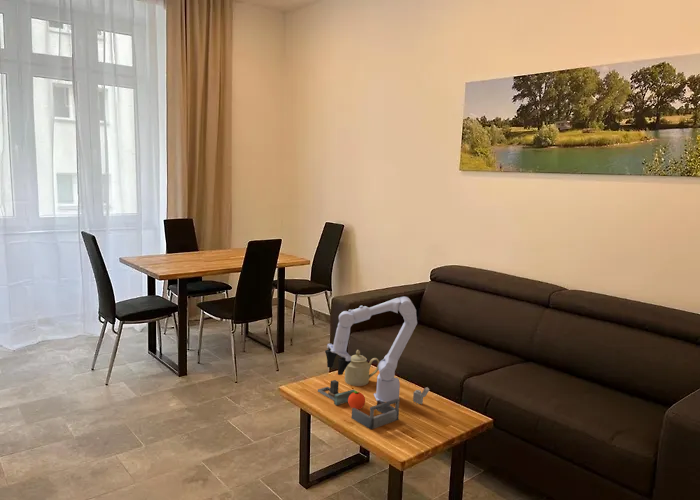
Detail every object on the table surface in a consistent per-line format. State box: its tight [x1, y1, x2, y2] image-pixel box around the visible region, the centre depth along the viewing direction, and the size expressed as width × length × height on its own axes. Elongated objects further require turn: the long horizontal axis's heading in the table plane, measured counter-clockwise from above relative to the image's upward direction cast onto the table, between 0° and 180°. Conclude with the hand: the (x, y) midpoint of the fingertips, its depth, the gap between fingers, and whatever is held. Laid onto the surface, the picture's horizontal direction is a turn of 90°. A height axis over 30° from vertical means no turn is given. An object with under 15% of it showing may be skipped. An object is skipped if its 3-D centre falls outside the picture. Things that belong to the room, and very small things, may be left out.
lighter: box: [412, 386, 430, 405], centre depth 226 cm, size 7×2×8 cm, turn 42°
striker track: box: [317, 386, 340, 401], centre depth 230 cm, size 13×5×1 cm, turn 40°
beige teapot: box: [344, 349, 380, 387], centre depth 247 cm, size 15×11×15 cm
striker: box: [327, 379, 357, 406], centre depth 226 cm, size 10×10×6 cm
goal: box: [350, 398, 401, 430], centre depth 209 cm, size 11×15×8 cm
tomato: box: [347, 390, 366, 410], centre depth 218 cm, size 8×7×7 cm
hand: (334, 370), depth 227 cm, fingers open, 7 cm apart
